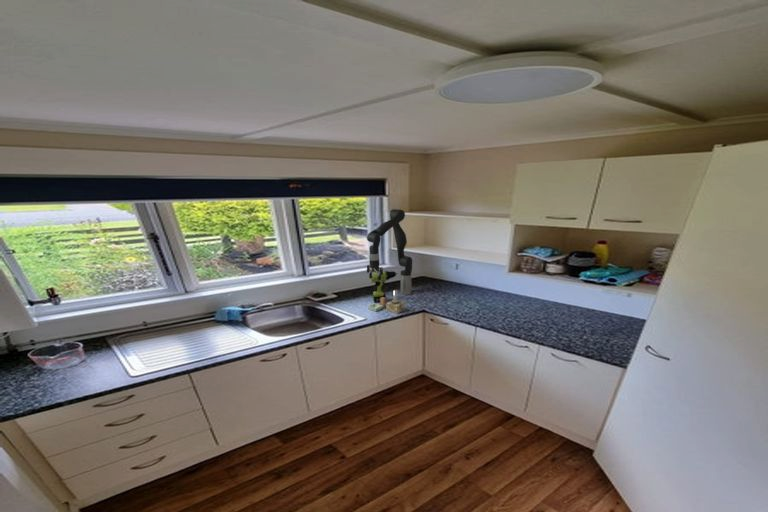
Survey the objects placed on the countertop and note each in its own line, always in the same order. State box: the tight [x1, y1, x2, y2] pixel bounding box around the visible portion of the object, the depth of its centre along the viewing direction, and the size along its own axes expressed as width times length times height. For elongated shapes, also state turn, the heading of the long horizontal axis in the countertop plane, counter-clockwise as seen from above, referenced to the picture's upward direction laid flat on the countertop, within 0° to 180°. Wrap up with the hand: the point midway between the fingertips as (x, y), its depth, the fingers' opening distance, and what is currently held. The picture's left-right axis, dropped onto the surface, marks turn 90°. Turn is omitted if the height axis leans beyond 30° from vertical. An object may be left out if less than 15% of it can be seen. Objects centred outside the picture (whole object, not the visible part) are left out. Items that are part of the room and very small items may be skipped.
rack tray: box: [367, 303, 384, 312], centre depth 237 cm, size 8×8×2 cm
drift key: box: [379, 297, 387, 308], centre depth 241 cm, size 3×3×7 cm
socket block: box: [385, 299, 406, 315], centre depth 234 cm, size 10×10×6 cm
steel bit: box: [392, 289, 399, 304], centre depth 233 cm, size 3×3×16 cm
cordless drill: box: [369, 270, 399, 304], centre depth 252 cm, size 23×7×25 cm, turn 100°
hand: (375, 279), depth 239 cm, fingers open, 8 cm apart
